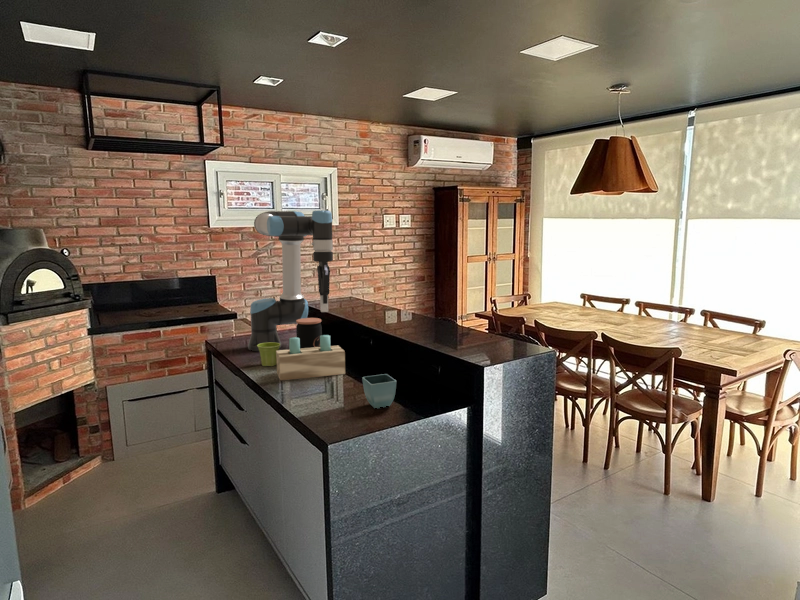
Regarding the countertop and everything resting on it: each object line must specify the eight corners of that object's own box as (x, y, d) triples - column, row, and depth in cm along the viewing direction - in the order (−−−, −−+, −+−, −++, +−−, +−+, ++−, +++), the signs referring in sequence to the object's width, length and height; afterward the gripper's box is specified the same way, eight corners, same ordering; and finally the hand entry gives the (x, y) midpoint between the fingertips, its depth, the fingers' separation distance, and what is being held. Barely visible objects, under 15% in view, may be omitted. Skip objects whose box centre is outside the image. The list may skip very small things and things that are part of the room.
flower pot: (371, 412, 159) (371, 384, 158) (361, 403, 167) (361, 376, 166) (397, 408, 162) (397, 380, 161) (386, 399, 170) (386, 373, 169)
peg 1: (289, 357, 200) (288, 337, 199) (299, 356, 201) (298, 337, 200) (290, 360, 196) (289, 339, 195) (301, 359, 198) (300, 339, 197)
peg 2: (319, 355, 204) (319, 335, 203) (329, 354, 205) (329, 334, 204) (321, 357, 200) (321, 337, 199) (331, 356, 202) (331, 336, 201)
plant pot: (272, 360, 221) (271, 341, 220) (285, 364, 215) (284, 344, 214) (253, 365, 214) (252, 345, 213) (267, 369, 208) (266, 348, 207)
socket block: (277, 372, 203) (276, 350, 201) (338, 366, 211) (338, 345, 210) (280, 380, 192) (279, 357, 191) (345, 373, 201) (344, 351, 200)
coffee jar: (317, 364, 214) (316, 322, 212) (293, 363, 216) (292, 321, 214) (326, 358, 225) (325, 318, 222) (303, 357, 227) (301, 317, 224)
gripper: (310, 250, 202) (311, 309, 206) (316, 252, 189) (318, 314, 193) (328, 250, 205) (330, 308, 208) (336, 251, 192) (337, 313, 195)
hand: (324, 311), depth 200 cm, fingers closed
